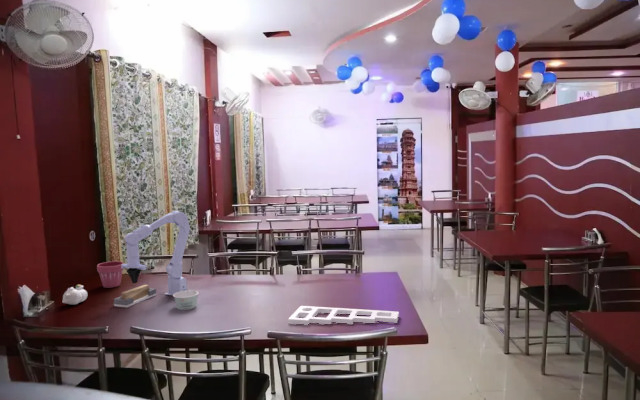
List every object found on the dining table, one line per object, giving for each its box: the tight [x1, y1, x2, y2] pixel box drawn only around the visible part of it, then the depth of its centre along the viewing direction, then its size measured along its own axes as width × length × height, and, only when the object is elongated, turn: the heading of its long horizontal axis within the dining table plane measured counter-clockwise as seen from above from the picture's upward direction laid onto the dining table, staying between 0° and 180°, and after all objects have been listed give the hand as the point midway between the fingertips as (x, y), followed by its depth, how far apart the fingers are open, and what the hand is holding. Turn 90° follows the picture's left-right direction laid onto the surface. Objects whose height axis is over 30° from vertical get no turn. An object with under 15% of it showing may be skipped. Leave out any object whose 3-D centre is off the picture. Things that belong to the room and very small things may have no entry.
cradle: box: [113, 287, 157, 308], centre depth 240 cm, size 8×21×4 cm, turn 159°
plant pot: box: [96, 260, 125, 288], centre depth 270 cm, size 14×14×13 cm
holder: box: [288, 305, 400, 326], centre depth 203 cm, size 45×18×3 cm, turn 75°
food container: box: [172, 289, 200, 311], centre depth 227 cm, size 12×12×6 cm
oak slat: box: [120, 284, 150, 301], centre depth 240 cm, size 3×16×5 cm, turn 159°
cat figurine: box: [61, 284, 88, 306], centre depth 238 cm, size 10×8×15 cm
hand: (134, 282), depth 240 cm, fingers closed
